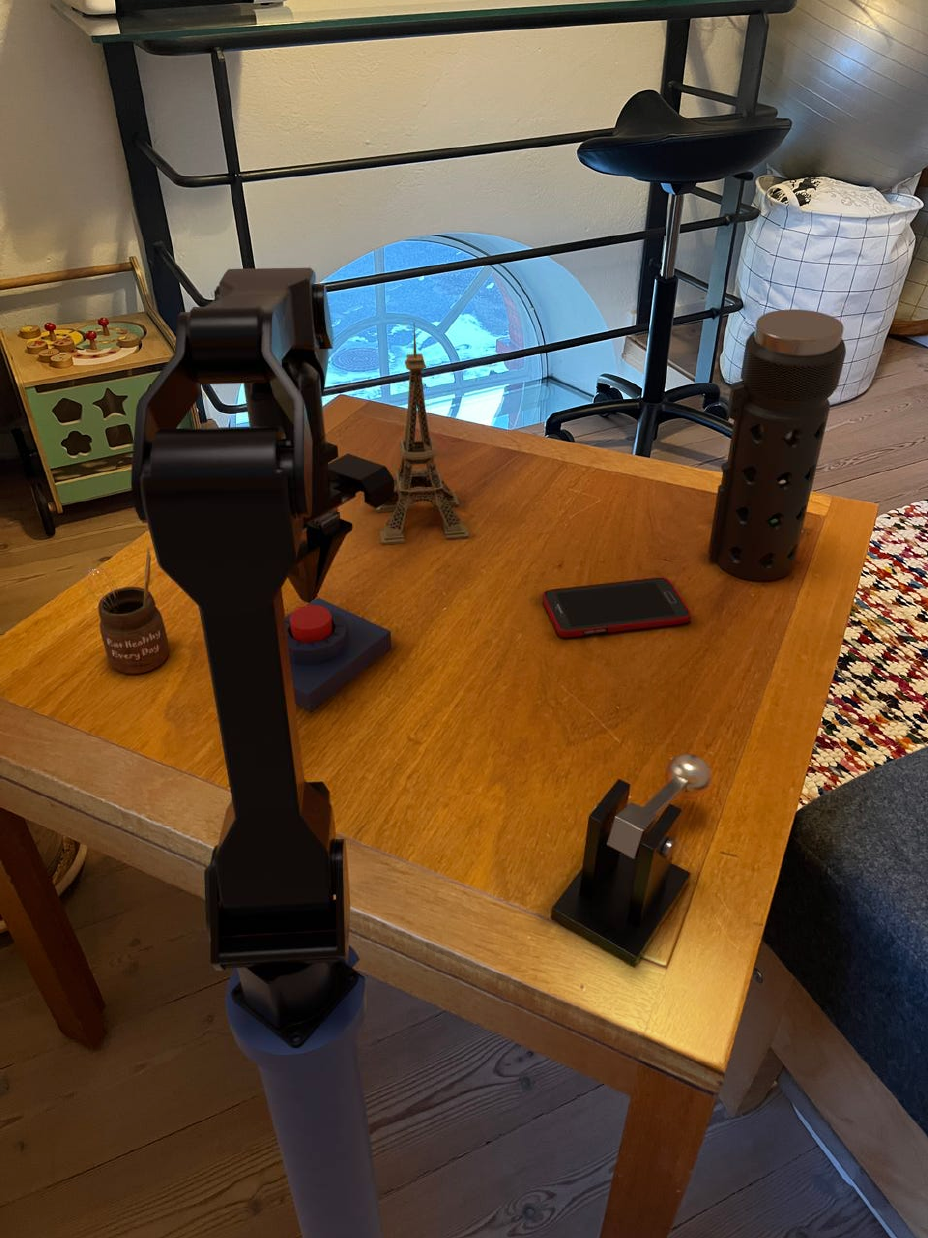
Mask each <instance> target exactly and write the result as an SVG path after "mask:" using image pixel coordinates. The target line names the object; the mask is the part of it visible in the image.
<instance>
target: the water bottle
mask: <svg viewBox="0 0 928 1238" xmlns="http://www.w3.org/2000/svg"><path fill="white" fill-rule="evenodd" d="M754 326H755V327H754V331H752V332H751V334H749V336H748V338H747V339H746V341H745V346H744V353H743V359H742V366H741V372H740V378H741V380H740V381H737V382H734V383H731V385H730V389H729V390H730V392H729V395H728V403H727V410H726V414H727V416H728V418H729V419H731V420H733V423H732V424H733V425H732V430H731V435H730V436H731V437H730V443H729V449H728V455H727V461H725V462H723V463H722V464H721V471H722V475H721V484H719V485H718V486H717V491H716V492H717V493H716V500H715V504H714V505H715V507H714V512H713V519H712V520H713V521H712V526H711V532H710V538H709V544H708V551H707V553H708V555H709V559H710V560H712V561H714V562H717V564H718V565H719V566H720V567H721V568H722V570H724V571H725V572H727V573H728V574H731V575H732V576H734V577H737V578H740V579H743V580H744V579H745V580H748V581H755V582H766V581H774V580H778V579H781V578H784V577H786V576H787V575H789V574H790V573H791V572H792V571H793V569H794V567H795V564H796V558H797V556H798V555H797V554H798V551H799V545H800V540H801V537H802V533H803V532H802V531H803V527H804V523H805V520H806V515H807V511H808V506H809V502H810V498H811V493H812V489H813V484H814V479H815V476H816V471H817V468H818V467H817V466H818V462H819V458H820V453H821V449H822V445H823V440H824V435H825V432H826V428H827V422H828V420H829V419H828V418H829V414H830V410H831V403H830V401H829V398H830V397H831V396H833V394H834V392H835V391H836V390H837V388H838V386H839V384H840V380H841V376H842V371H843V367H844V363H845V358H846V354H847V347H846V344H845V341H844V339H843V335H844V325H843V323H842V321H840V319H837V318H836V317H834V316H831V315H829V314H826V313H822V312H819V311H814V310H809V309H808V310H807V309H779V310H774V311H770V312H766V313H764V314H762V315H761V316H759V317H758V318H757V320H756V321H755V325H754ZM781 481H785V482H783V483H780V482H781ZM773 519H777V520H778V521H777V522H776V523H772V522H771V520H773ZM737 548H739V549H740V553H738V551H737ZM768 554H769V560H767V561H764V560H763V559H762V558H764V557H765V556H766V555H768Z"/></svg>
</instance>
